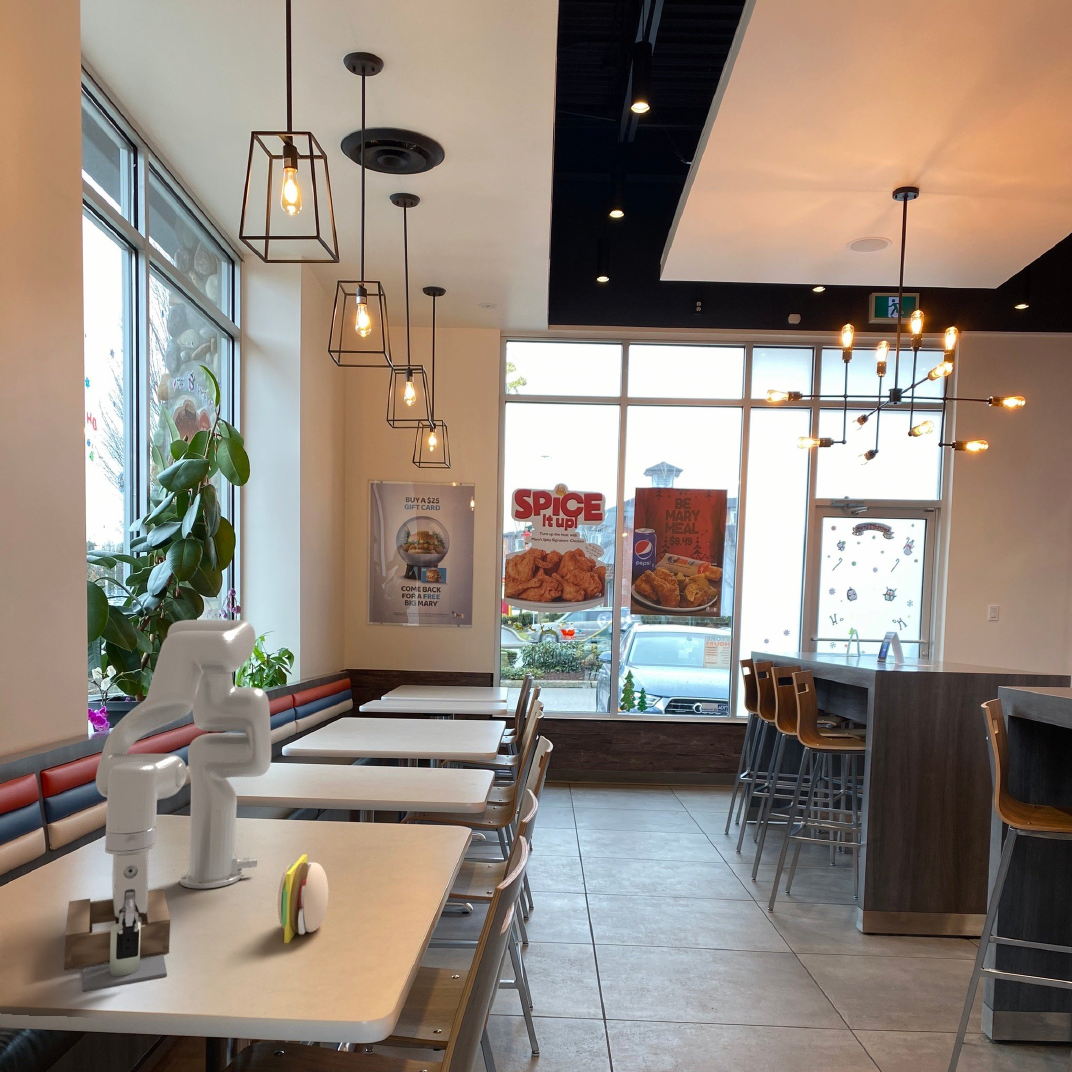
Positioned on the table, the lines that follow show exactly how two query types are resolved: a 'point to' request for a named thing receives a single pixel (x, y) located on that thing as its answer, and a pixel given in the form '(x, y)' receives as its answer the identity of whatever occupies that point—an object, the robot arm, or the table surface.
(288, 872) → the hamburger
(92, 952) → the walnut box
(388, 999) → the table surface
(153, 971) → the rubber mat
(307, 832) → the table surface
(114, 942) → the sage cylinder
